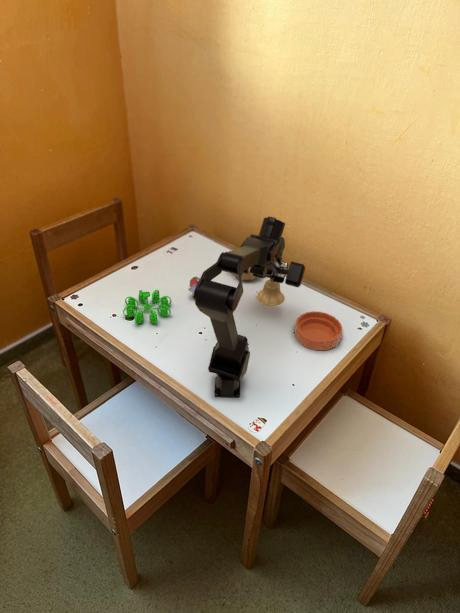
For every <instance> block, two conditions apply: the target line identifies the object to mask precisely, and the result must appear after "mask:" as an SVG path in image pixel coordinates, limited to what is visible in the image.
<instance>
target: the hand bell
mask: <svg viewBox="0 0 460 613" xmlns="http://www.w3.org/2000/svg"><path fill="white" fill-rule="evenodd" d="M256 299H257V301H258V302H259V303H260V304H262V305H264V306H267V307H277V306H280V305H282V304H283V303H284V302H285V299H286V297H285V294H284V293H283V292H282V291H281V283H278V282H275V281H273V279H272V278H268V279H267V280H266V281H265V282H264V285H263V288H262V289H261V290H259V292H258V293H257V295H256Z"/></svg>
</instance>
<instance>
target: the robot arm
mask: <svg viewBox="0 0 460 613" xmlns="http://www.w3.org/2000/svg"><path fill="white" fill-rule="evenodd" d="M285 227H286V222H285V221H284V222H283V221H282V220H280V219H277V217H273V216H269V215H268V216H267V217H264V218H263V220H262V223H261V226H260V229H259V232H258V235H256V234H252V233H251V234H250V235H249V236H247V237H246V238H245V239H244V241H243V242H242V244H241V246H240V247H237V248H235V249H233V250H229V251H230V252H229V251H225V252H223V251H222V252H221V253H220V255H219V256H218V258H217V260H216V262H215V263H213V264H212V265H211V266H209V267H208V268H206V269H205V270H204V271H202V273H201V275H200V277H199V278H200V280H198V281H199V282H198V284H197V286H196V288H195V291H194V293H193V297H194V298H193V300H194V303H195V306H196V308H197V309H198V311H199V312H200V313H202V314H204V315H205V316H207V317H208V318H209V319H210V323H211V326H212V329H213V333H214V335H215V339H216V342H215V345H214V346H213V348H212V351H211V355H210V359H209V364H208V368H207V370H208V372H209V373H213V374H215V375H216V376H215V378H214V392H213V395H214V397H215V398H231V399H232V398H233V399H234V398H237V399H239V398H241V382H242V380H243V379H244V377H245V375H246V373H247V371H248V367H249V363H250V362H249V361H250V357H251V351H250V348H249V345H250V344H249V342H248V341H249V339H248V337H247V336H245V335H241V334H238V333H239V332H238V328H237V325H236V321H235V316H234V312H235V311H236V310H237V308H238V305H239V304H240V301H241V299H242V296H243V294H244V286H243V280H241V276H242V274H243V273H244V274H248V273H249V272H248V270H249V268H250V267H251V268H250V273H253V276H255V277H257V278H259V279H265V278H267V279H270V278H272V279H273V281H275V282H278V283H280V284H283V283H284V284H285V285H287V286H290V287H293V288H299V287H301V286H302V282H303V278H304V276H305V272H306V269H307V268H306V266H305V264H304V263H299V262H295V261H291V262H290V263H288V262H287V261H283V253H284V250H285V248H286V242H285V241H286V239H285V238H284V237H283V234H284V231H285ZM222 272H224V273H225V272H226V273H229V274H233V275H235V274H237V275H238V277H237V279H238V278H239V279H238V284H237V286H233V285H229V284H225V283H220V282H217V281H214V279H215V278H216V277H218V276H219V275H221V273H222Z"/></svg>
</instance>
